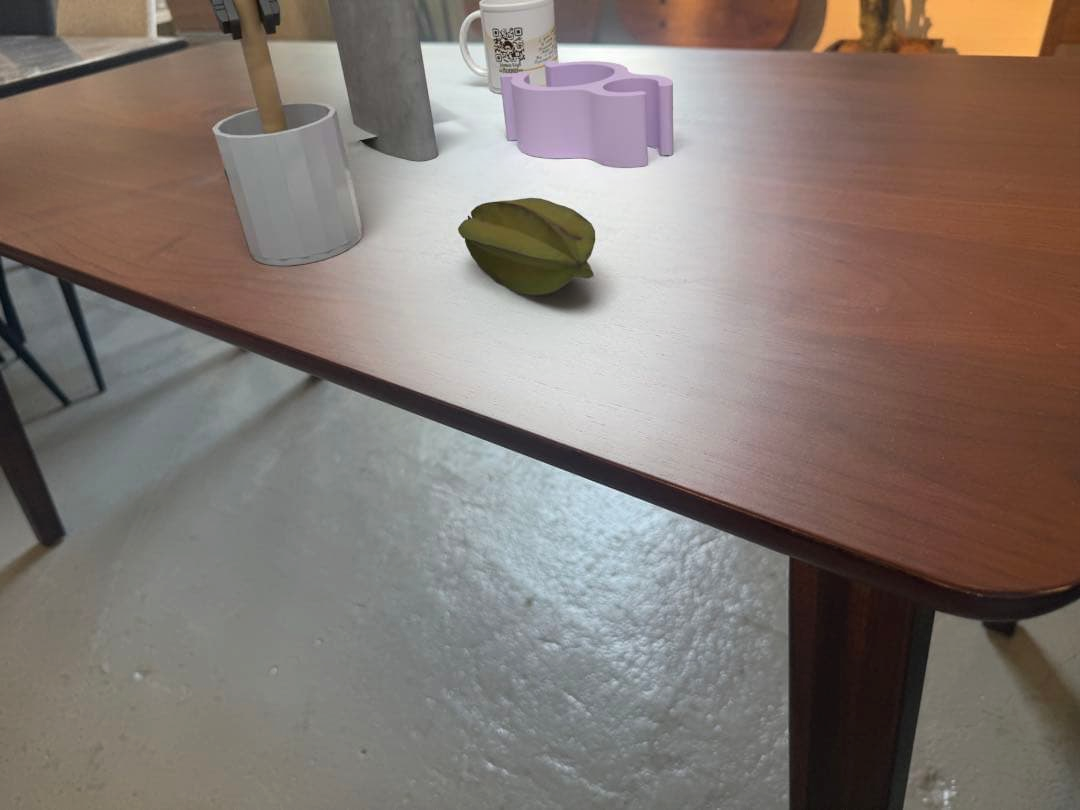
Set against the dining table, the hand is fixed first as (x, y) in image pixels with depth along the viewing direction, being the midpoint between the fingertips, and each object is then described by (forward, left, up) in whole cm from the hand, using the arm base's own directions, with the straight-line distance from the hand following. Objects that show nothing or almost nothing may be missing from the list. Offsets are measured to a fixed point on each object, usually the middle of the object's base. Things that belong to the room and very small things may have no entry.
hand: (254, 29), depth 66 cm
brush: (0, +2, -14) cm, 14 cm away
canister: (0, +2, -18) cm, 18 cm away
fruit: (+13, -18, -18) cm, 29 cm away
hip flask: (+15, +25, -18) cm, 34 cm away
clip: (+33, +10, -18) cm, 39 cm away
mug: (+38, +41, -18) cm, 59 cm away
